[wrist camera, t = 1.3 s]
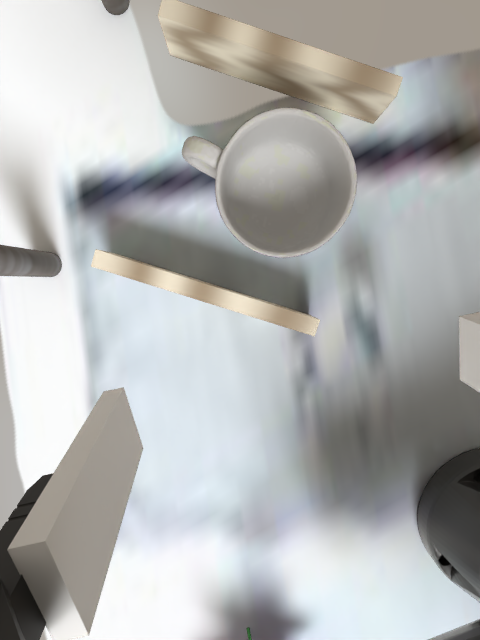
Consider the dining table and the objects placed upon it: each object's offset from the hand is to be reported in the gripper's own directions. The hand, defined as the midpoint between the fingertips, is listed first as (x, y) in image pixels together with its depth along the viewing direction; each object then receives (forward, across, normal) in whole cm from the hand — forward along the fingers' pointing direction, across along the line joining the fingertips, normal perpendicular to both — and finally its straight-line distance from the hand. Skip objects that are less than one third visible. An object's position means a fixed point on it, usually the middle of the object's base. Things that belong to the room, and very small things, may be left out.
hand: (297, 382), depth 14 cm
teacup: (+24, -3, -8) cm, 25 cm away
